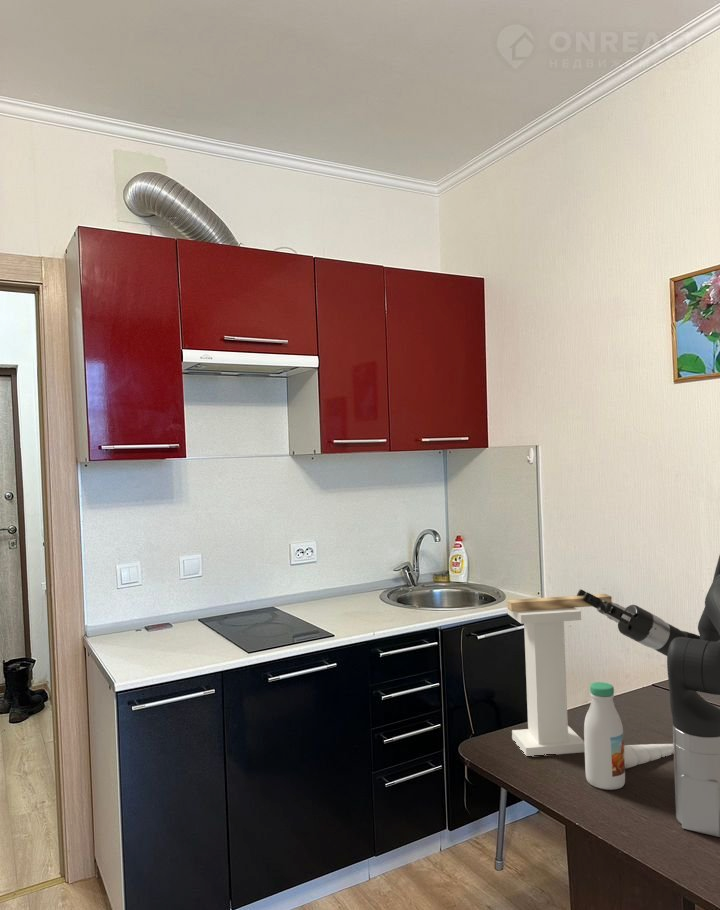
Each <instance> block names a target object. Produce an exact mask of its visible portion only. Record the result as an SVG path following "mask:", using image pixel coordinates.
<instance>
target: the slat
mask: <svg viewBox="0 0 720 910" xmlns="http://www.w3.org/2000/svg"><path fill="white" fill-rule="evenodd" d="M593 595H594V596H596V597H598V598H599V599H602V600H603V599H604V600H605V601H606V602H608V603H609V602H613V601H612V598H613V597H612V596H611V595H609V594H607V593H598V594H596V593H595V594H593ZM583 597H584V595H582V596H577V595H571V596H570V595H569V596H566V595H565V596H551V597H538V598H537V597H535V598H522V599H520V598H519V599H518V598H517V599H507V602H506V608H507V607H508V609H509V610H510V611H511V612H513V611H528V610H543V609H559V608H584V607H585V608H588V607H593V606H592V605H590V604H588V603H587V602H585V601H583ZM600 601H601V600H600Z"/></svg>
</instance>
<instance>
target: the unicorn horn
mask: <svg viewBox="0 0 720 910" xmlns="http://www.w3.org/2000/svg"><path fill="white" fill-rule="evenodd" d="M671 755H674V747H673V743H649V744H624V759H625V770H627V769H629V768H633V767H636V766H637V765H638V766H639V765H642V764H645V763H649V762H652V761H656V760H658V759H661V757H663V758H665V756H666V757H668V756H671Z"/></svg>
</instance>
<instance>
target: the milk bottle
mask: <svg viewBox="0 0 720 910" xmlns="http://www.w3.org/2000/svg"><path fill="white" fill-rule="evenodd" d="M614 688H615V687H614V685H612V684H611V683H609V682H603V681H602V682H601V681H598V682H597V681H596V682H592V683H590V685H589V690H590V696H591V702H590V704H589V705H590V706H589V707H588V710H587V711H586V715H585V718H584V725H583V737H584V739H583V741H584V744H585V752H584V765H585V766H584V768H585V769H584V770H585V771H584V772H585V778H586V781H587V783H588V784H590V785H591V786H593V787H595V788H597V789H600V790H607V791H608V790H610V791H612V790H618V789H621V788H624V785H625V783H626V769H625V759H624V745H625V742H624V741H625V739H624V728H623V723H622V719H621V717H620V714H619V713H618V711H617V709H616V705H615V703H614V698H615V695H614V693H615V689H614Z"/></svg>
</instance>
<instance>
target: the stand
mask: <svg viewBox="0 0 720 910" xmlns="http://www.w3.org/2000/svg"><path fill="white" fill-rule="evenodd" d="M506 608H507V615H508V616H510V617H511V618H512V619H514V620H516V621H517V622H518V623H520V624H521V625H524V627H523V628H524V629H523V631H524V632H523V633H524V653H525V678H526V680H525V681H526V683H525V684H526V704H527V705H526V706H527V707H526V709H527V728H525V729H524V728H523V729H512V730H511V739H512V741H513V742H514V741H515V742H516V743H515V742H514V743H515V744H516V746H517V747H518V746H519V747H520V748H519V747H518V748H519V749H520V751H521V750H522V751H523V752H524V753H523V752H522V751H521V752H522V753H523V754H525V755H526V756H532V757H535V756H534V755H544V754H545V755H544V756H547V755H546V754H556V755H564V754H565V755H567V754H576V753H578V754H579V753H585V744H584V739H583V738H582V737H580V736H579V735H578V733H576V732H575V731H574V730H573V728H571V726H569V725H568V723H569V722H568V720H569V719H568V703H567V702H568V700H567V699H568V697H567V674H566V673H567V672H566V671H567V670H566V667H567V665H566V650H565V649H566V645H565V642H566V641H565V640H566V639H565V622H571V621H582V611H581V610H580V609H578V608H577V607H574V608H559V609H543V610H528V611H513V612H511V611H510V610H509V609H508V607H507V606H506ZM525 755H524V756H525ZM526 756H525V757H526Z"/></svg>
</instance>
